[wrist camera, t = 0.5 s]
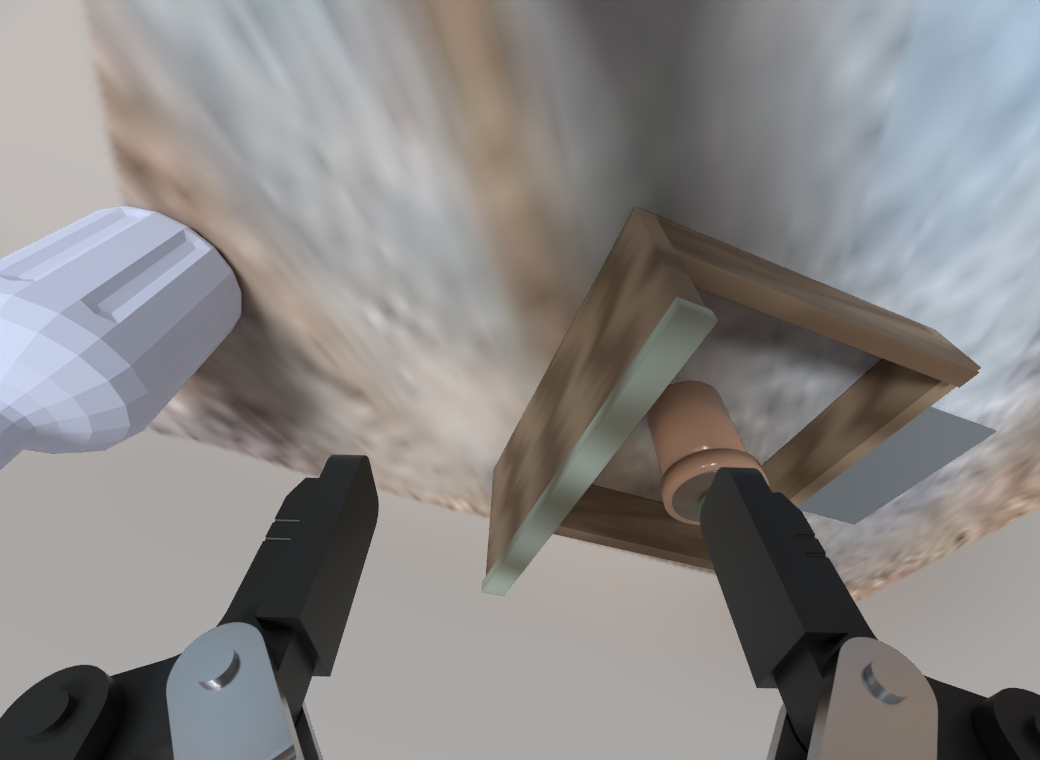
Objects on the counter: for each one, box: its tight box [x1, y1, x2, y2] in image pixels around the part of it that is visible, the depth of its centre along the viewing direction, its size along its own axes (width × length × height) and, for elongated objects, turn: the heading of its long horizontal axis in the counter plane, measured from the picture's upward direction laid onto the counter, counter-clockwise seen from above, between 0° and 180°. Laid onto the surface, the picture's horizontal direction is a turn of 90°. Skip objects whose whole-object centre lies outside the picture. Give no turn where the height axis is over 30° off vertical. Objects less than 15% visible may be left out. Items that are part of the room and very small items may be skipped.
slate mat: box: [797, 407, 997, 525], centre depth 39 cm, size 14×12×1 cm
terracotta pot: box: [646, 381, 769, 525], centre depth 31 cm, size 6×6×11 cm
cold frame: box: [482, 207, 981, 596], centre depth 31 cm, size 24×23×11 cm
